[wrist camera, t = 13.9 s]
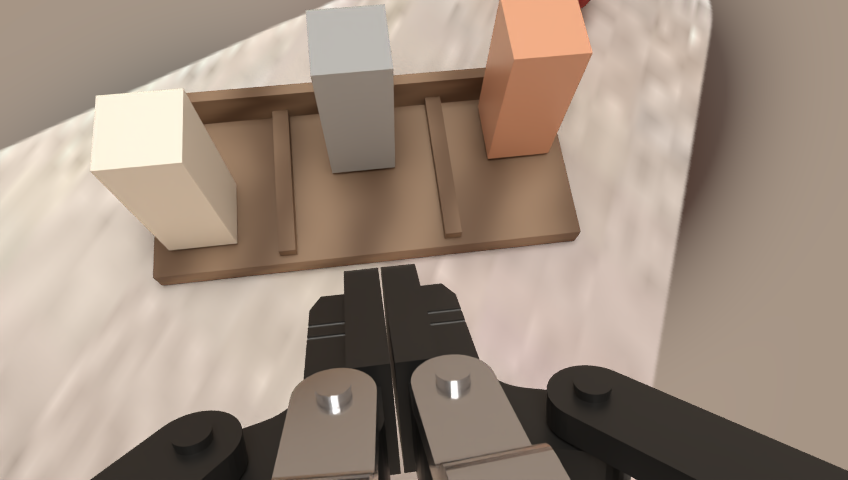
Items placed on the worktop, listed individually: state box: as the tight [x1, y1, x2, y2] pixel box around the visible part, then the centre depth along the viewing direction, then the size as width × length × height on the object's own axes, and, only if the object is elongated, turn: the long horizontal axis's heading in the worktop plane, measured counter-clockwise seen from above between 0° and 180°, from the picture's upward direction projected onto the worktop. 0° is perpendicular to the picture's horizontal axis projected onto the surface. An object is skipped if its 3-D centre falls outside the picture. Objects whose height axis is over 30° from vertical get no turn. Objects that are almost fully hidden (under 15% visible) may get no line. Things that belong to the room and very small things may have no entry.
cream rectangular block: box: [90, 89, 237, 251], centre depth 33 cm, size 4×4×10 cm
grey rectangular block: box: [306, 4, 395, 173], centre depth 35 cm, size 4×4×10 cm
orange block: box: [478, 0, 592, 159], centre depth 36 cm, size 4×4×10 cm
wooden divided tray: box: [153, 68, 581, 285], centre depth 39 cm, size 26×11×4 cm, turn 97°
